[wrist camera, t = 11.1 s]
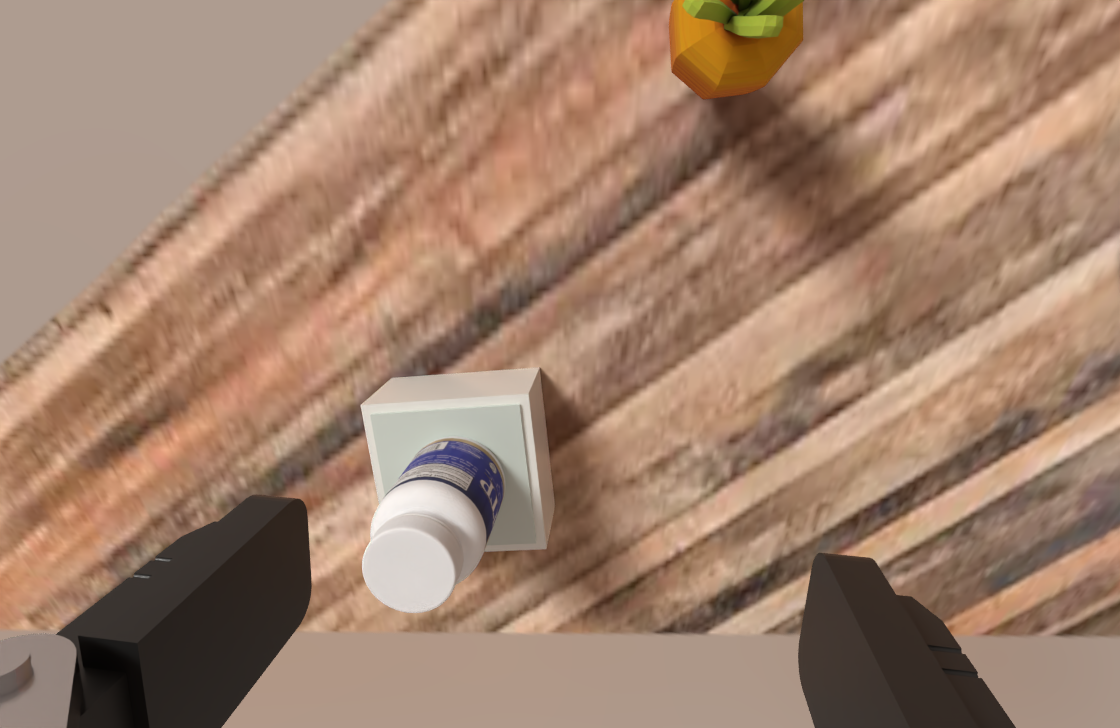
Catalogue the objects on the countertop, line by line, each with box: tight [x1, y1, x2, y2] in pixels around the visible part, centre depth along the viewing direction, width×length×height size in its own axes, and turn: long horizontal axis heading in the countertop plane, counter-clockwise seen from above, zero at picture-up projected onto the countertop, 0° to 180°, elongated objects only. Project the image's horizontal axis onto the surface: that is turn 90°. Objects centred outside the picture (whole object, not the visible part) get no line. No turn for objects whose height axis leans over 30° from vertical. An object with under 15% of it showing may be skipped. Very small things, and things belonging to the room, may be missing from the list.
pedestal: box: [361, 367, 555, 552], centre depth 38 cm, size 9×9×5 cm
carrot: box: [669, 0, 804, 99], centre depth 27 cm, size 5×5×15 cm
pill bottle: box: [362, 436, 505, 613], centre depth 31 cm, size 5×5×9 cm
